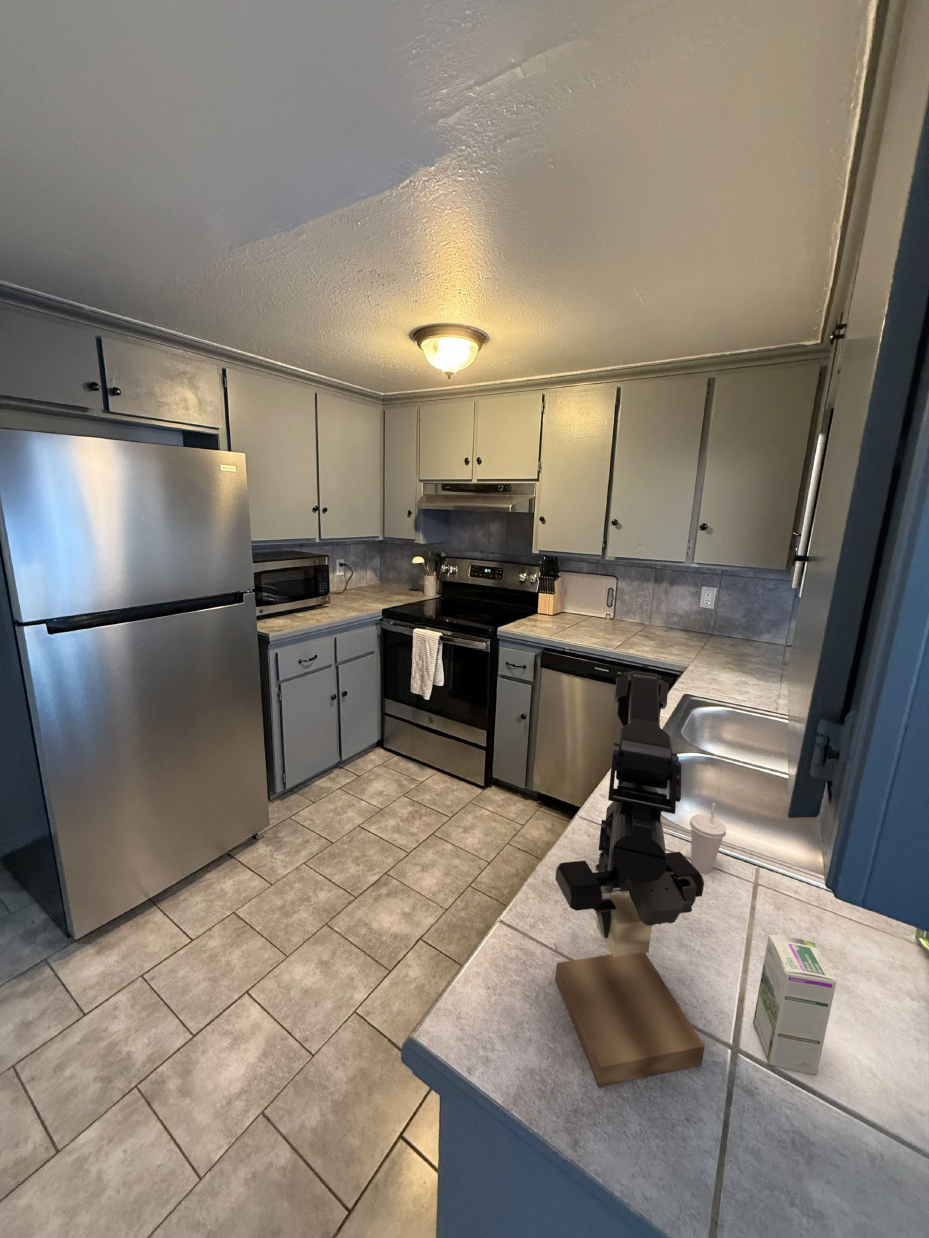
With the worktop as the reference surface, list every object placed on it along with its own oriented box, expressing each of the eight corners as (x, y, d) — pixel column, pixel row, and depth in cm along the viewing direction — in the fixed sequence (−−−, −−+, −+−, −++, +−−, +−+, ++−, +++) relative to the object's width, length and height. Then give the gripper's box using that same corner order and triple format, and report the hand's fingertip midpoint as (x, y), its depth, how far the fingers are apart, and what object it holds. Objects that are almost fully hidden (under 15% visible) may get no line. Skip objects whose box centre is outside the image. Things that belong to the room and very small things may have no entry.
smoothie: (725, 879, 93) (736, 814, 91) (692, 878, 94) (702, 812, 91) (709, 856, 100) (719, 795, 97) (678, 855, 100) (687, 793, 97)
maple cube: (629, 922, 70) (632, 892, 69) (648, 952, 65) (652, 920, 64) (596, 926, 69) (600, 895, 68) (613, 957, 64) (617, 924, 63)
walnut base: (641, 965, 75) (643, 949, 74) (701, 1064, 61) (704, 1045, 61) (555, 979, 72) (556, 962, 71) (598, 1086, 58) (601, 1067, 58)
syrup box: (818, 1077, 60) (841, 981, 57) (766, 1065, 61) (786, 970, 58) (797, 1031, 66) (817, 940, 63) (750, 1020, 67) (767, 931, 64)
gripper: (596, 880, 54) (583, 998, 57) (742, 865, 58) (724, 977, 60) (558, 821, 65) (549, 923, 68) (684, 811, 68) (670, 908, 71)
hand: (622, 933), depth 66 cm, fingers closed on maple cube, 5 cm apart
